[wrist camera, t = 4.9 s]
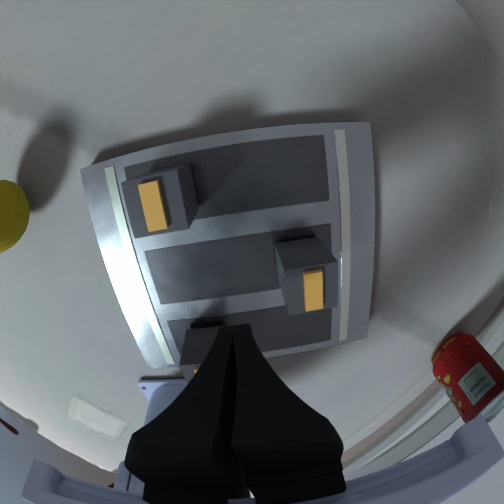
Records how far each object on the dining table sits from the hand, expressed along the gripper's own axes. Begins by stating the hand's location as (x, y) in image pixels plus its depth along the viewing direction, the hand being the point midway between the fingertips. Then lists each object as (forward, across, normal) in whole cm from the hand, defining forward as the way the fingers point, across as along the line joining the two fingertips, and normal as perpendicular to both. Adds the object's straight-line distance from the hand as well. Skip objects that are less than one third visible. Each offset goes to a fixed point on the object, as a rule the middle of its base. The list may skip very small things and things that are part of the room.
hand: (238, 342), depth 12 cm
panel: (+10, 0, 0) cm, 10 cm away
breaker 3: (+8, -4, 0) cm, 9 cm away
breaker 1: (+8, +3, -6) cm, 10 cm away
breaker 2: (+8, +3, +6) cm, 10 cm away
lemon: (+10, +18, -8) cm, 22 cm away
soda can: (+10, -24, +17) cm, 31 cm away
